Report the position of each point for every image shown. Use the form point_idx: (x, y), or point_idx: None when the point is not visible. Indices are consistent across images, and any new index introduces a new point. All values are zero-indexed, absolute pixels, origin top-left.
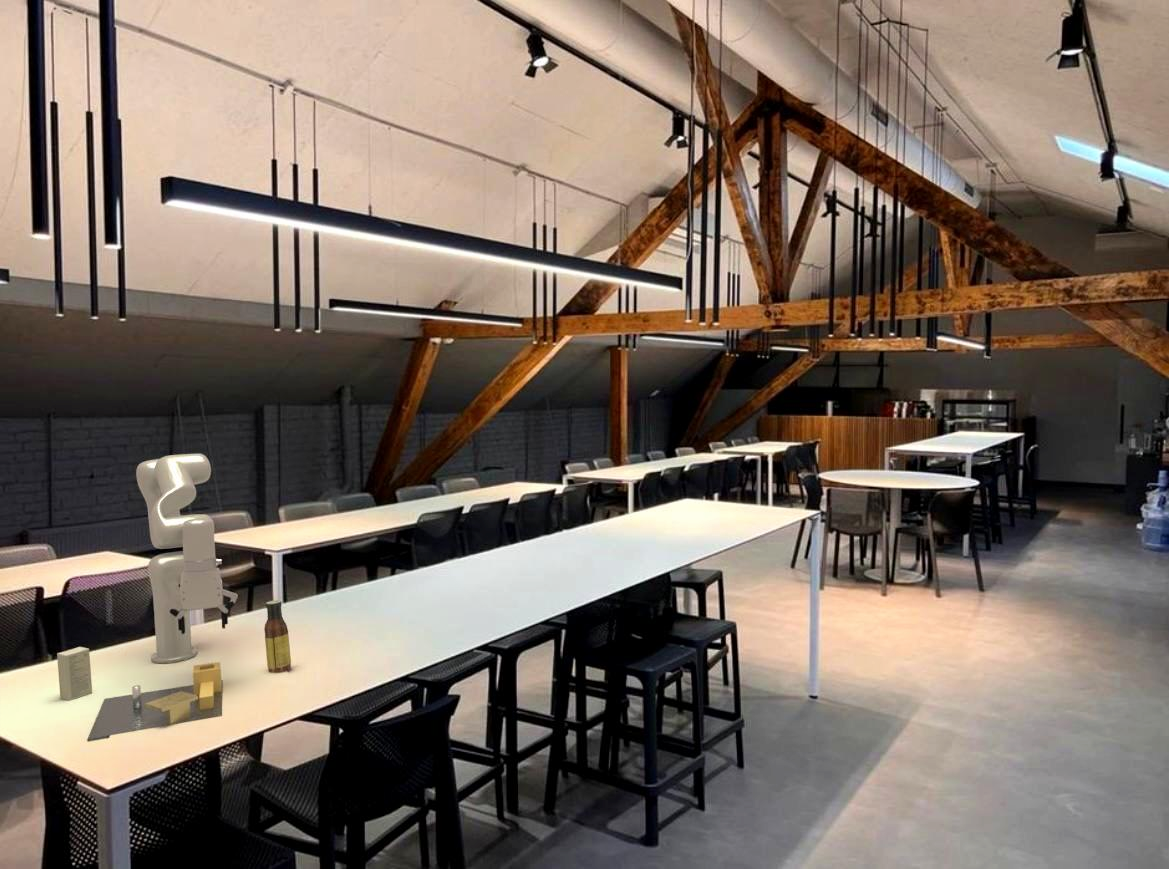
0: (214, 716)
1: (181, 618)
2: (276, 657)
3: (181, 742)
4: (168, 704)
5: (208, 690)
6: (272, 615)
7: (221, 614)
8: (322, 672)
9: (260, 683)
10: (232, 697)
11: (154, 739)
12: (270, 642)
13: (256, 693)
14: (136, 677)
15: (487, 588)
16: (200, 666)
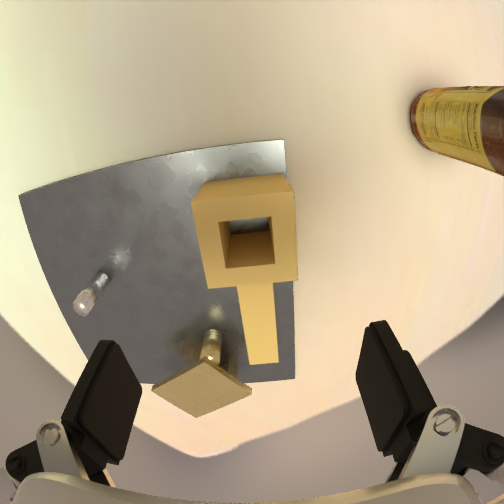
0: (281, 378)
1: (100, 454)
2: (457, 159)
3: (241, 421)
4: (201, 409)
5: (265, 330)
6: None
7: (380, 451)
8: (495, 193)
9: (385, 204)
10: (315, 284)
11: None
12: (481, 162)
13: (368, 277)
14: (40, 36)
15: None
16: (220, 221)
